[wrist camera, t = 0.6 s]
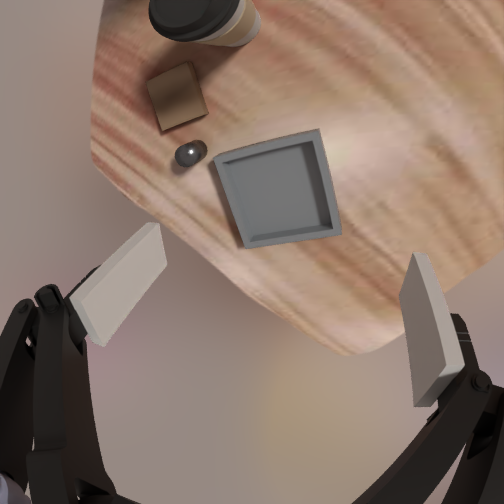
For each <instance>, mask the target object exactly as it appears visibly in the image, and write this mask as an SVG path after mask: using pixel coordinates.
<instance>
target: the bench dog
mask: <svg viewBox="0 0 504 504" xmlns="http://www.w3.org/2000/svg"><path fill="white" fill-rule="evenodd" d="M206 155H207V146H206V144H205V143H204V142H203V141H201V140H194V141H191V142H189V143H187V144H185V145H182V146H180V147H179V148H178V149H177V150H176V152H175V159H176V161H177V163H178V164H179V165H180V166H182V167H190V166H191V165H193V164H195V163H196V162H198V161H200V160H201V159H203V158H204V157H205V156H206Z"/></svg>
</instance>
